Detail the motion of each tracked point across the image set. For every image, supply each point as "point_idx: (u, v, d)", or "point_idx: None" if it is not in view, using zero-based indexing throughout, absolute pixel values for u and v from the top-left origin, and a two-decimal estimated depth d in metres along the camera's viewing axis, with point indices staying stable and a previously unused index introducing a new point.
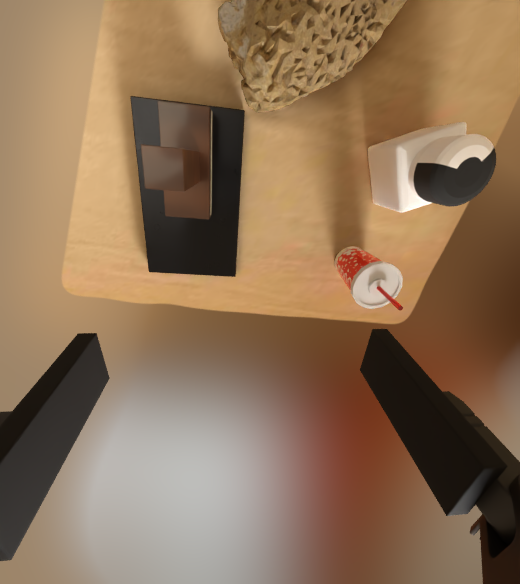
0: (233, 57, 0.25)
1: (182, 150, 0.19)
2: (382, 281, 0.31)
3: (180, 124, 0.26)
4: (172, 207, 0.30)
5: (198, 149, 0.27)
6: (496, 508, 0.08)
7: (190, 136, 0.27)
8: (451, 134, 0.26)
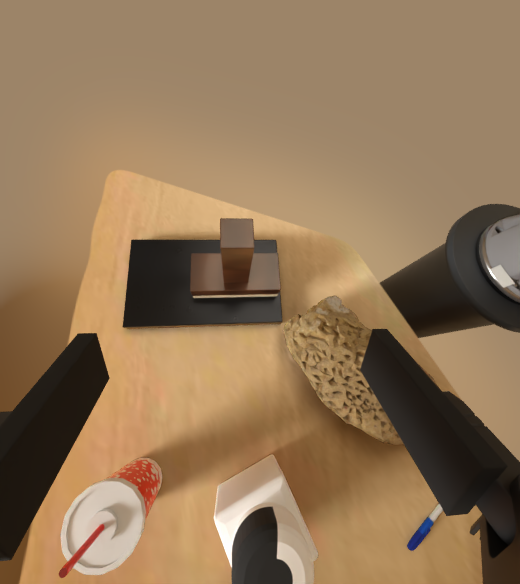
0: (313, 307, 0.34)
1: (253, 247, 0.23)
2: (112, 529, 0.20)
3: (265, 268, 0.33)
4: (199, 259, 0.33)
5: (249, 281, 0.32)
6: (496, 508, 0.08)
7: (258, 275, 0.33)
8: None
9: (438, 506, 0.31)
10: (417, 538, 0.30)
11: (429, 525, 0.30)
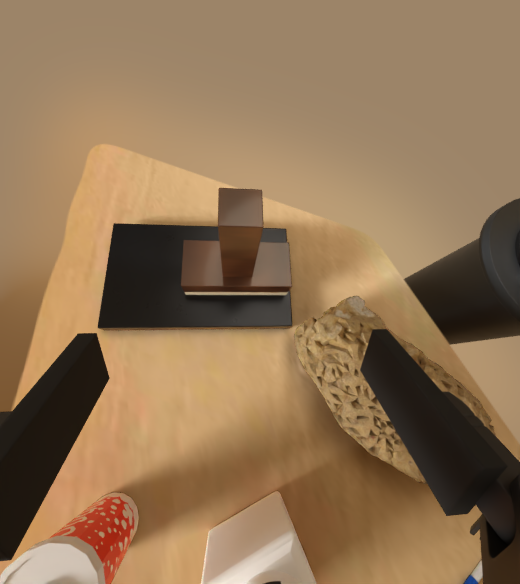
0: (331, 309, 0.28)
1: (261, 226, 0.17)
2: None
3: (273, 260, 0.27)
4: (193, 247, 0.27)
5: (254, 275, 0.26)
6: (496, 508, 0.08)
7: (264, 268, 0.27)
8: None
9: None
10: None
11: None
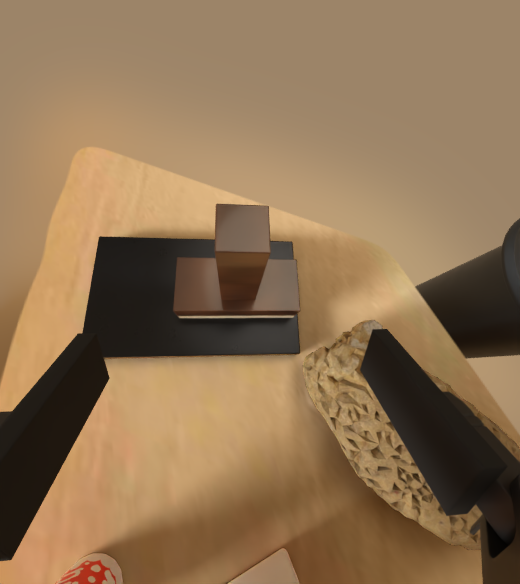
0: (344, 336, 0.25)
1: (268, 252, 0.14)
2: None
3: (279, 280, 0.24)
4: (188, 266, 0.23)
5: (257, 298, 0.23)
6: (496, 508, 0.08)
7: (269, 290, 0.24)
8: None
9: None
10: None
11: None
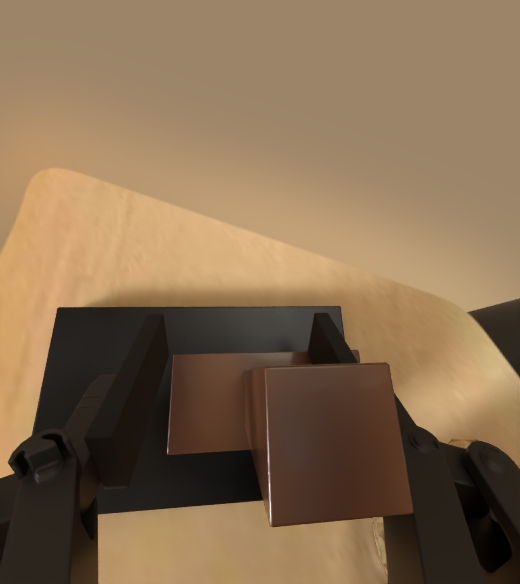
0: None
1: (408, 511, 0.05)
2: None
3: None
4: (191, 369, 0.15)
5: None
6: None
7: None
8: None
9: None
10: None
11: None
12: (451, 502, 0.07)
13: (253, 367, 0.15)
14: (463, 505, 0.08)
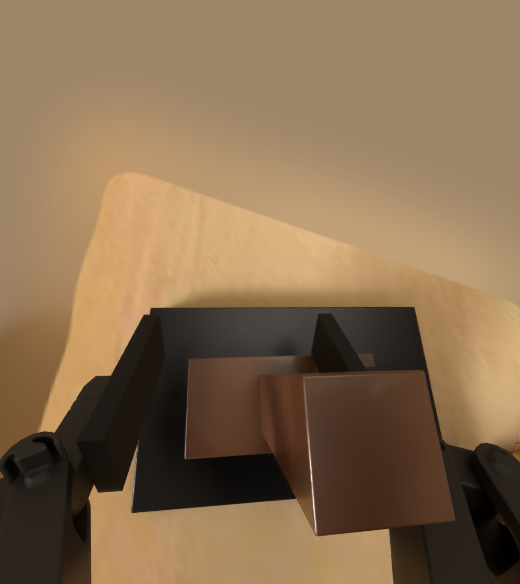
0: None
1: (450, 519, 0.05)
2: None
3: None
4: (206, 374, 0.15)
5: None
6: None
7: None
8: None
9: None
10: None
11: None
12: (458, 505, 0.07)
13: (268, 371, 0.15)
14: (470, 508, 0.08)
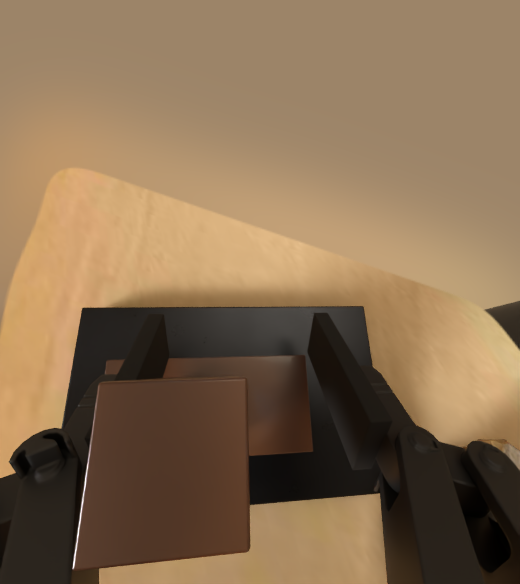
0: None
1: (243, 549, 0.05)
2: None
3: (277, 395, 0.14)
4: None
5: None
6: (387, 465, 0.09)
7: (261, 414, 0.14)
8: None
9: None
10: None
11: None
12: (450, 502, 0.07)
13: (191, 373, 0.14)
14: (462, 505, 0.08)
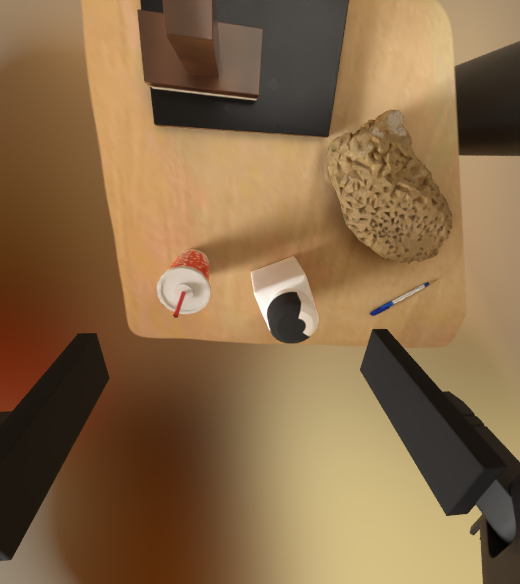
0: (368, 123, 0.30)
1: (210, 39, 0.17)
2: (190, 294, 0.31)
3: (243, 55, 0.25)
4: (150, 24, 0.23)
5: (220, 76, 0.25)
6: (496, 508, 0.08)
7: (232, 67, 0.25)
8: None
9: (401, 296, 0.44)
10: (378, 310, 0.45)
11: (390, 305, 0.45)
12: None
13: None
14: None
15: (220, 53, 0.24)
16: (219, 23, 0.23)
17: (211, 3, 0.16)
